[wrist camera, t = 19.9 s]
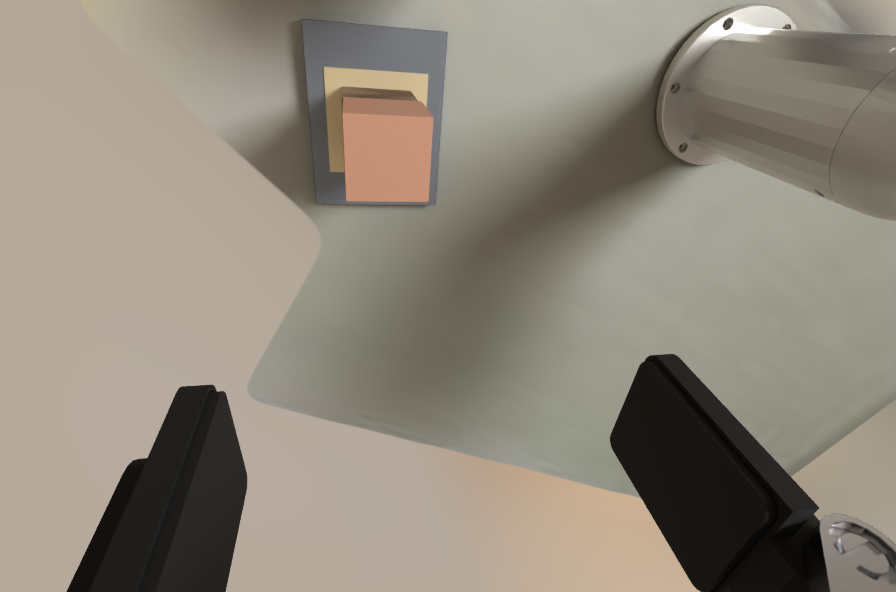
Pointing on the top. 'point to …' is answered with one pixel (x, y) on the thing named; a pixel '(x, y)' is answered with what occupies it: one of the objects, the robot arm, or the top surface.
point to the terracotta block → (387, 150)
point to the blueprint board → (366, 66)
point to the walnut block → (375, 96)
